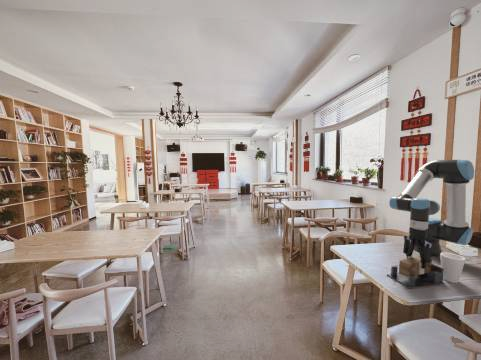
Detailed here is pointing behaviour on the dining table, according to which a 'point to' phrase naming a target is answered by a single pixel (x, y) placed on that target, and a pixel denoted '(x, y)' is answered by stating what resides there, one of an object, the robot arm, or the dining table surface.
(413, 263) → the brown wooden block
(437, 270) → the bracket board
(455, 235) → the robot arm
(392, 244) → the dining table surface
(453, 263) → the foam cup
